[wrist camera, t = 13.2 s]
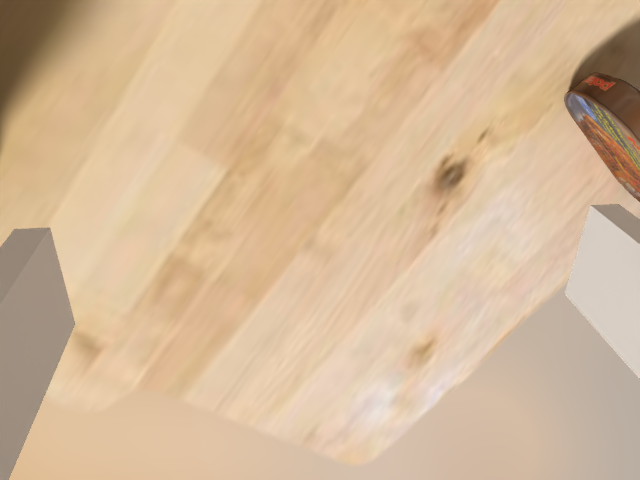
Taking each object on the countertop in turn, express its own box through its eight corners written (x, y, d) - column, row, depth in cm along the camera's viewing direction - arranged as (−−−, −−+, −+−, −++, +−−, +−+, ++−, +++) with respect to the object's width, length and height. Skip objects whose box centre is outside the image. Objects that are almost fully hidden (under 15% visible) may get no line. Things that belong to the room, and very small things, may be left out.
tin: (547, 83, 43) (605, 113, 36) (581, 55, 43) (648, 79, 35) (631, 201, 50) (695, 248, 42) (662, 179, 49) (733, 222, 41)
